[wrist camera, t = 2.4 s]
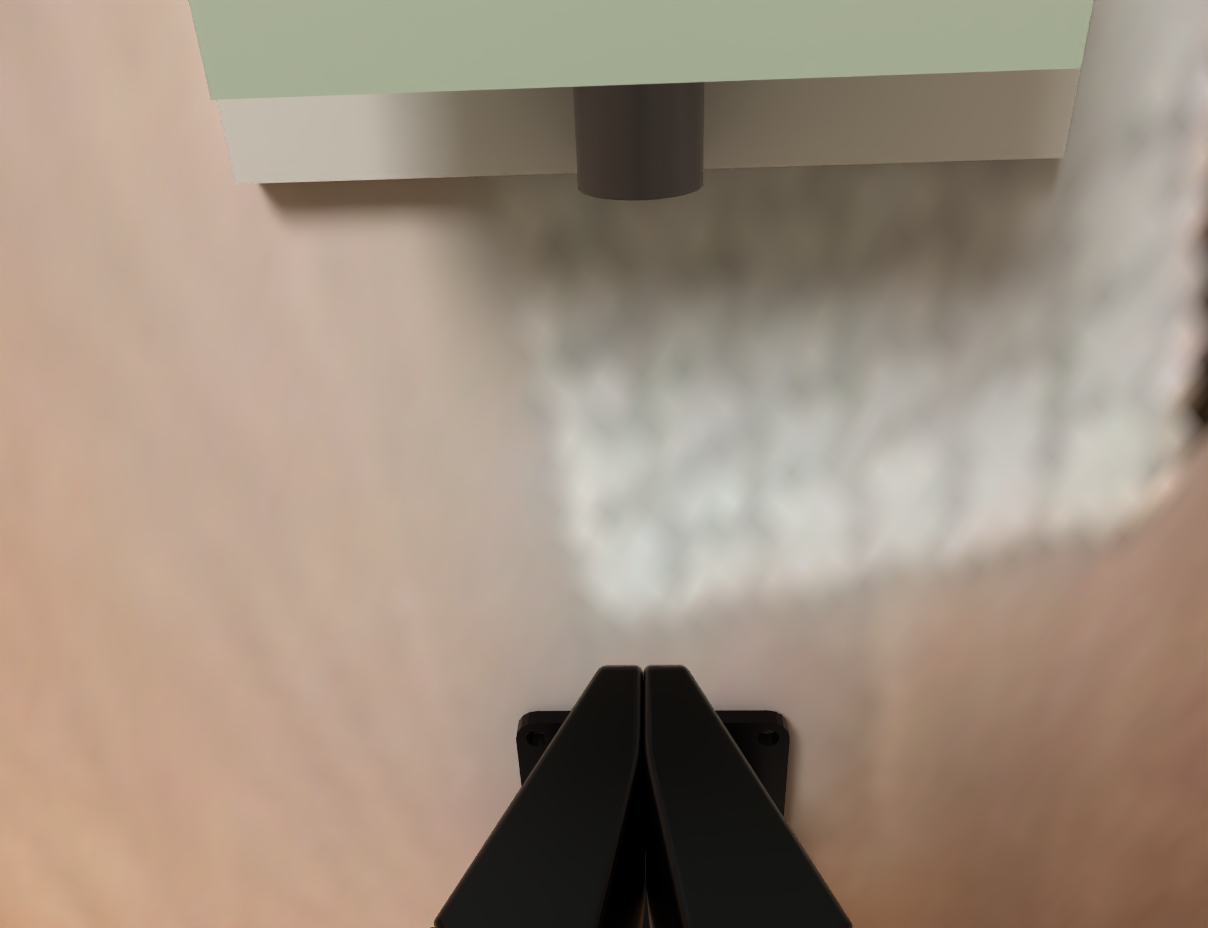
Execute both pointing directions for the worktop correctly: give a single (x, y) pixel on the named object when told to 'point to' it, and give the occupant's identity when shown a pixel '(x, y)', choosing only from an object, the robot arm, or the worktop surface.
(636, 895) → the robot arm
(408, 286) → the worktop surface
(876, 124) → the board
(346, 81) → the green block
